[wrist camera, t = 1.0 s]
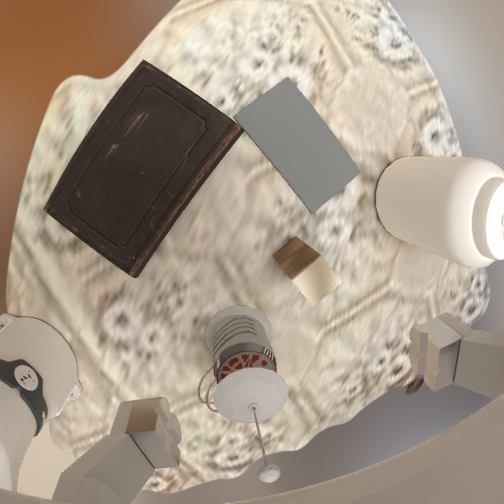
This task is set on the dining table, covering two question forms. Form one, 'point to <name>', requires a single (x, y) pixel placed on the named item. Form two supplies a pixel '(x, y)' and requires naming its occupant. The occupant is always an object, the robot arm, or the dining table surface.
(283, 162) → the rubber mat
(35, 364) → the robot arm
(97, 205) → the hardcover book
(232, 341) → the french press
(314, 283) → the walnut block
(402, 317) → the dining table surface
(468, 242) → the white lidded jar
